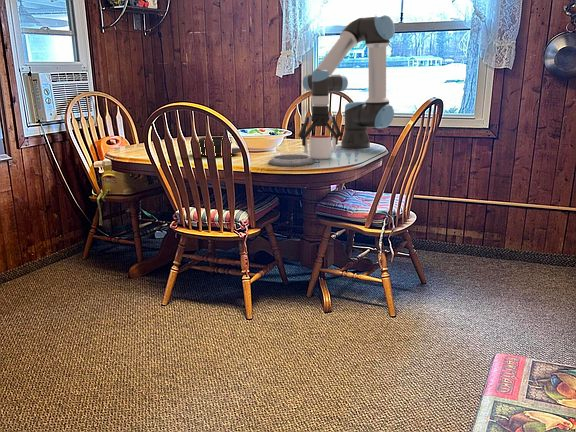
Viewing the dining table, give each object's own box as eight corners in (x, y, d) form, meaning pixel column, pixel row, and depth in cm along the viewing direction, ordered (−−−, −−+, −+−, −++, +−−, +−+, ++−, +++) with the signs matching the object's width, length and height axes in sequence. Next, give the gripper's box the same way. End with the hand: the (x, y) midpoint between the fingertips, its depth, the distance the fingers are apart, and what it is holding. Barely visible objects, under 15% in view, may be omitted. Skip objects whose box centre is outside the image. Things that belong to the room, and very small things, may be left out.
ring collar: (306, 158, 254) (306, 152, 253) (320, 165, 235) (320, 159, 235) (264, 160, 249) (264, 155, 248) (274, 167, 230) (274, 161, 230)
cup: (329, 160, 248) (329, 138, 245) (307, 159, 250) (307, 137, 247) (332, 156, 257) (332, 135, 255) (311, 156, 259) (311, 135, 257)
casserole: (243, 152, 276) (242, 135, 274) (238, 158, 258) (237, 140, 256) (194, 152, 277) (193, 136, 275) (185, 158, 259) (184, 140, 257)
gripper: (343, 104, 254) (342, 150, 259) (291, 105, 248) (291, 152, 253) (349, 105, 247) (348, 152, 252) (295, 106, 241) (296, 154, 246)
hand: (319, 152), depth 253 cm, fingers open, 13 cm apart
